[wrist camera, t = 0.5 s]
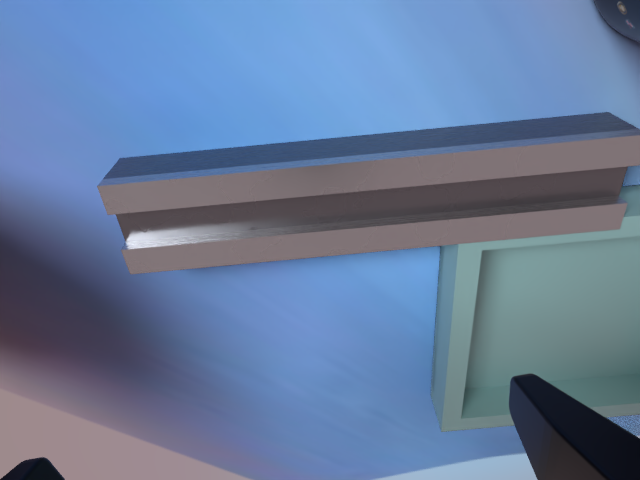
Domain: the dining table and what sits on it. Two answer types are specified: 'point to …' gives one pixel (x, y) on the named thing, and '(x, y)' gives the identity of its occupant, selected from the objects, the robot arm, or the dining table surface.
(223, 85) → the dining table surface
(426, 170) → the t-slot rail
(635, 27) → the supplement bottle
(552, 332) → the tray
